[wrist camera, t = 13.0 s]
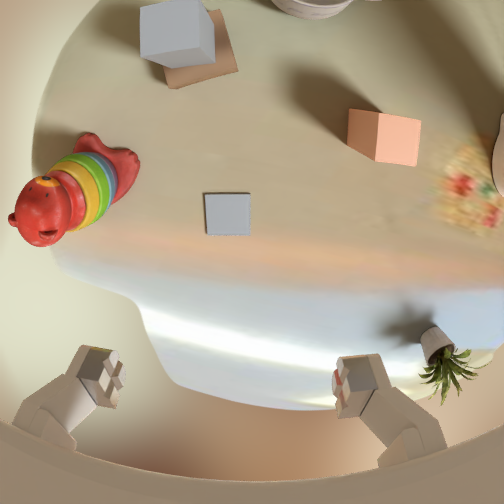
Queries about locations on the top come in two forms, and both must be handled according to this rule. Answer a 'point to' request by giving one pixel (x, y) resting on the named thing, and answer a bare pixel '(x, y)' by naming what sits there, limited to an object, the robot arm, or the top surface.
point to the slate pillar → (177, 34)
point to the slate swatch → (228, 214)
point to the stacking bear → (74, 191)
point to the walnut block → (206, 71)
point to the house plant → (442, 360)
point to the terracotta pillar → (384, 136)
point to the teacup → (312, 7)
